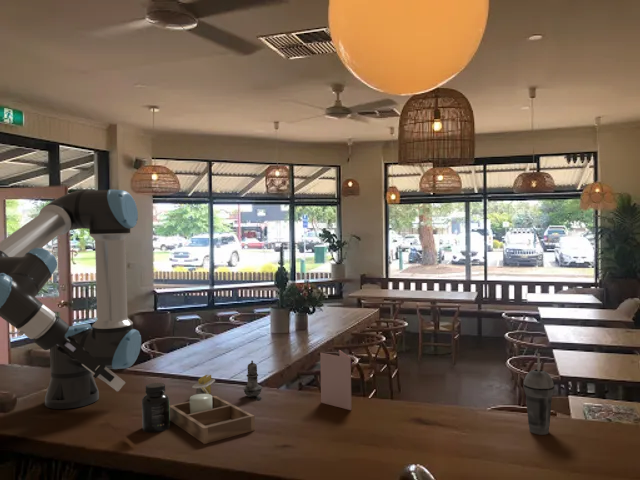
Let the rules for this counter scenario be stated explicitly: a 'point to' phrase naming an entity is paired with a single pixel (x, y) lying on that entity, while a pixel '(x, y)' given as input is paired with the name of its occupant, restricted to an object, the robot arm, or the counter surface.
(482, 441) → the counter surface
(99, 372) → the robot arm
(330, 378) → the greeting card
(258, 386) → the salt shaker
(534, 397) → the beverage cup
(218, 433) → the caddy
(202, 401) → the pale green dome
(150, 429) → the supplement bottle
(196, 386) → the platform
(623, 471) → the counter surface
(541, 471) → the counter surface
